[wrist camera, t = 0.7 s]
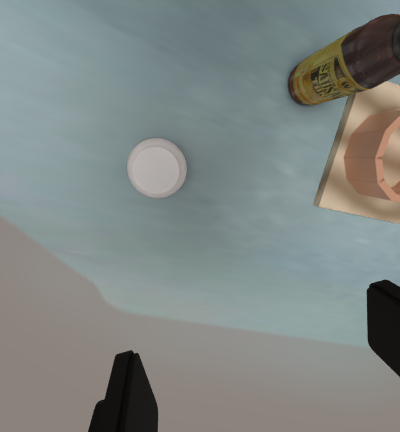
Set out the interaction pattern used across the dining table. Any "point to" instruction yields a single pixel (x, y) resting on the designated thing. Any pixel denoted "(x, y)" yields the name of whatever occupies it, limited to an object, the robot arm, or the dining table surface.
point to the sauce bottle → (350, 63)
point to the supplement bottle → (156, 168)
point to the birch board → (335, 168)
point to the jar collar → (372, 155)
